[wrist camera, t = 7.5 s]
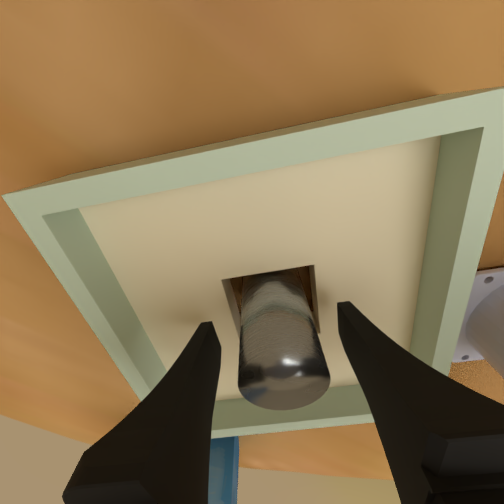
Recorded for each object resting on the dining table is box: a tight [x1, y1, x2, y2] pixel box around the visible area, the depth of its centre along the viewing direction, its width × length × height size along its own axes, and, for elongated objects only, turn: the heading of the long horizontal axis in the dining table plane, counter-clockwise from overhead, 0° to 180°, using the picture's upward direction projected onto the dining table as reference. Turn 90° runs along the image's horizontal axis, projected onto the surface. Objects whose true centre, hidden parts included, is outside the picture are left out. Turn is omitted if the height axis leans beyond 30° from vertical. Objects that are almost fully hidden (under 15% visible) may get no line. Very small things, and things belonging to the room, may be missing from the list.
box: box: [1, 86, 504, 439], centre depth 14 cm, size 18×18×4 cm
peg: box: [238, 268, 331, 410], centre depth 13 cm, size 4×4×7 cm
